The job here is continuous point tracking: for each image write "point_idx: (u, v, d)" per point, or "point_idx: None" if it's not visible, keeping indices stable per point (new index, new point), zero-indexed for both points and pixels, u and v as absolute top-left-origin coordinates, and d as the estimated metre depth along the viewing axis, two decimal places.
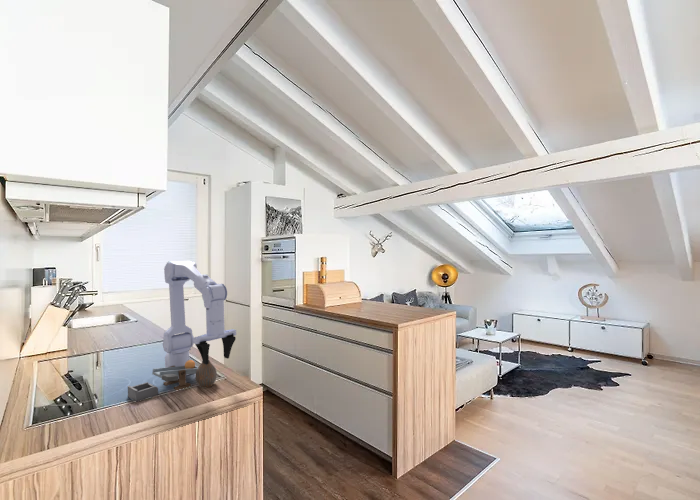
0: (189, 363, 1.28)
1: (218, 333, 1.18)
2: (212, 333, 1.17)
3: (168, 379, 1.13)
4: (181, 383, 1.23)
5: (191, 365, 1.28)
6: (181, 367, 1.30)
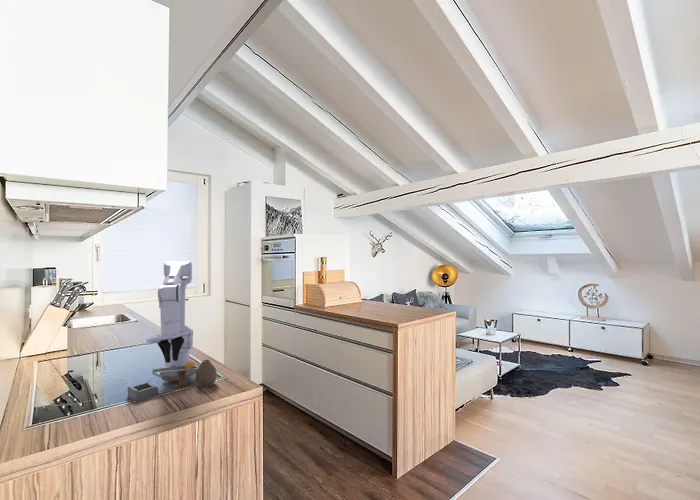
0: (189, 363, 1.28)
1: (172, 333, 1.18)
2: (166, 333, 1.17)
3: (168, 379, 1.13)
4: (181, 383, 1.23)
5: (191, 365, 1.28)
6: (181, 367, 1.30)
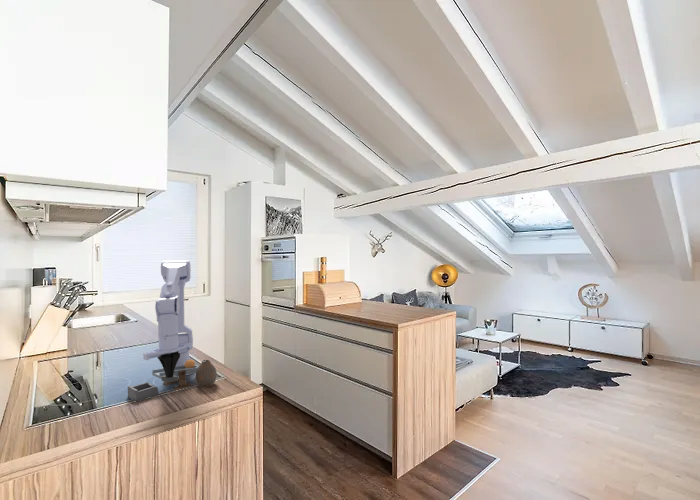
0: (189, 362, 1.28)
1: (170, 348, 1.13)
2: (164, 348, 1.12)
3: (168, 380, 1.13)
4: (181, 383, 1.23)
5: (191, 364, 1.28)
6: (181, 367, 1.30)
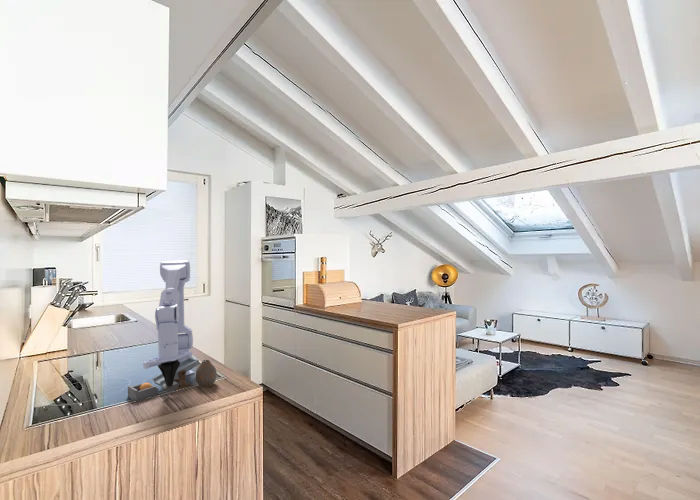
0: None
1: (170, 356, 1.13)
2: (163, 356, 1.12)
3: (169, 390, 1.13)
4: (181, 383, 1.23)
5: None
6: (180, 364, 1.29)
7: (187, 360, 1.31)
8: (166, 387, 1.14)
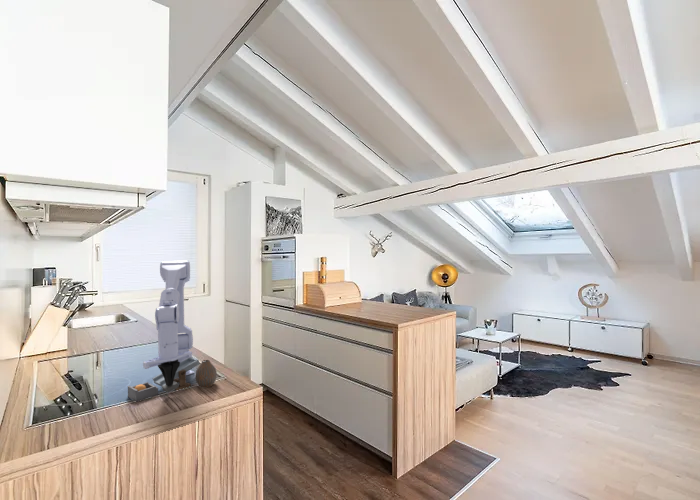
0: None
1: (170, 356, 1.13)
2: (164, 356, 1.12)
3: (169, 390, 1.13)
4: (181, 383, 1.23)
5: None
6: (180, 364, 1.29)
7: (187, 360, 1.31)
8: (166, 387, 1.14)
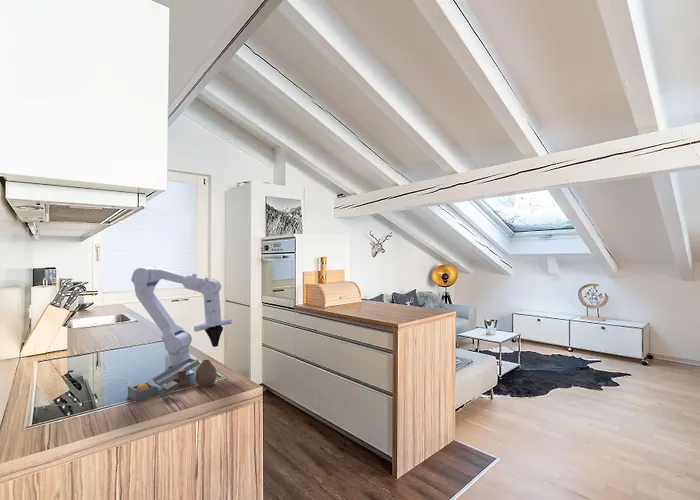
0: None
1: (215, 322, 1.35)
2: (210, 322, 1.35)
3: (169, 390, 1.13)
4: (181, 383, 1.23)
5: None
6: (180, 364, 1.29)
7: (187, 360, 1.31)
8: (166, 387, 1.14)
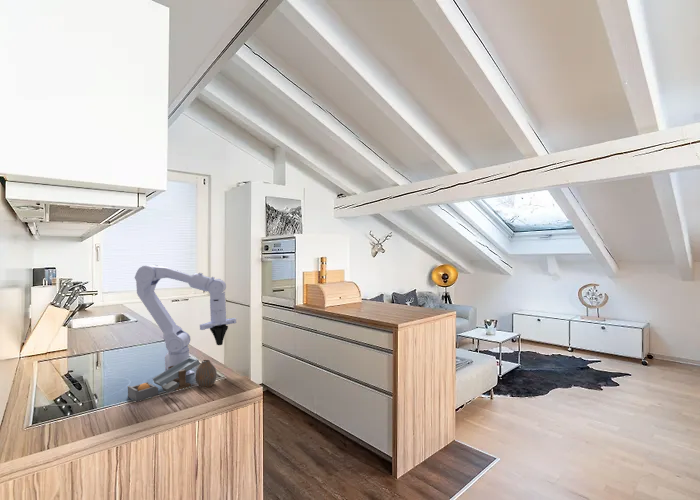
0: None
1: (220, 321, 1.38)
2: (215, 320, 1.37)
3: (169, 390, 1.13)
4: (181, 383, 1.23)
5: None
6: (180, 364, 1.29)
7: (187, 360, 1.31)
8: (166, 387, 1.14)
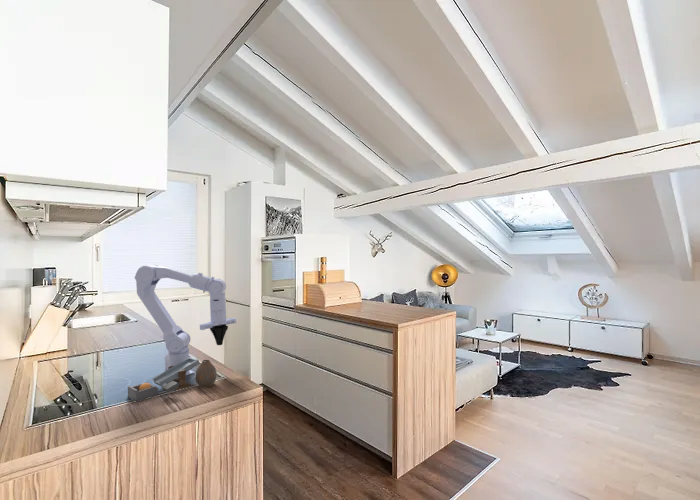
0: None
1: (220, 321, 1.38)
2: (215, 320, 1.37)
3: (169, 390, 1.13)
4: (181, 383, 1.23)
5: None
6: (180, 364, 1.29)
7: (187, 360, 1.31)
8: (166, 387, 1.14)
